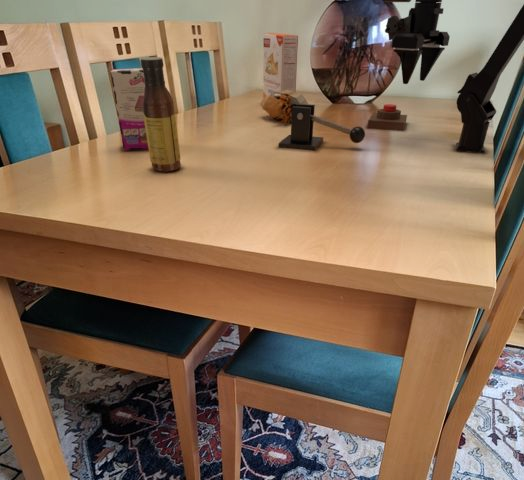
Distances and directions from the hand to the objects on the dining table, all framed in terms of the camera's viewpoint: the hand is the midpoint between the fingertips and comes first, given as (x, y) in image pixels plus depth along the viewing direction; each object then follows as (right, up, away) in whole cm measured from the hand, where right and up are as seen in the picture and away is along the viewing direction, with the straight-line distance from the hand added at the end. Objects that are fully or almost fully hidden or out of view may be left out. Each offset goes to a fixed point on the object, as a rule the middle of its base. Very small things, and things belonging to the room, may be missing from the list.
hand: (413, 82), depth 113 cm
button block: (-1, 0, +22) cm, 22 cm away
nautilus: (-31, +4, +27) cm, 41 cm away
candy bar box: (-65, -17, -1) cm, 68 cm away
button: (-1, +3, +20) cm, 20 cm away
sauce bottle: (-58, -28, -16) cm, 66 cm away
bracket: (-27, -15, +2) cm, 31 cm away
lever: (-21, -13, -2) cm, 25 cm away
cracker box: (-32, +19, +47) cm, 59 cm away
